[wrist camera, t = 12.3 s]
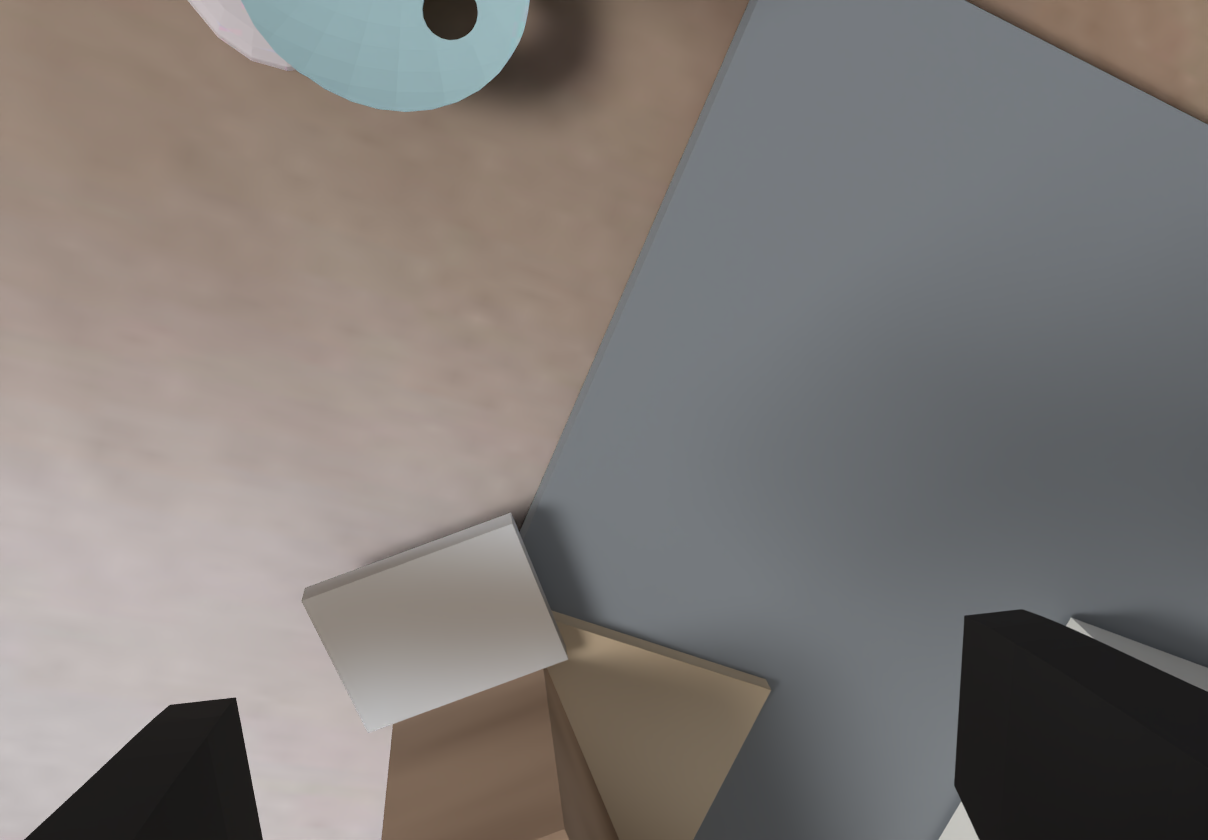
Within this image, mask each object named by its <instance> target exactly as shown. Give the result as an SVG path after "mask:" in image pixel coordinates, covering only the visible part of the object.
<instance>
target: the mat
mask: <svg viewBox="0 0 1208 840" xmlns="http://www.w3.org/2000/svg"><path fill="white" fill-rule="evenodd" d="M519 533H520V535H521V538H522V540H523V543H524V545H525V548H526V550H527V552H528V555H529V557H530V560H531V562H532V565H533V567H534V570H535V572H536V574H537V577H538V579H539V582H540V584H541V587H542V589H543V591H544V594H545V596H546V599H547V601H548V604H549V606H550V608H551V610H552V611H555V612H558V613H561V614H565V615H568V616H571V617H574V618H577V619H580V620H583V621H586V622H589V623H593V624H596V625H599V626H602V627H605V628H608V629H611V630H614V631H617V632H620V633H624V634H627V635H630V636H633V637H636V638H639V639H642V640H645V641H648V642H652V643H655V644H658V645H661V646H664V647H667V648H670V649H673V650H676V651H680V652H683V653H686V654H689V655H692V656H695V657H698V658H701V659H704V660H707V661H711V662H714V663H717V664H720V665H723V666H726V667H729V668H732V669H735V670H739V671H742V672H745V673H748V674H751V675H754V676H757V677H760V678H763V679H766V681H767V683H768V685H769V687H770V689H771V691H770V693H769V695H768V697H767V699H766V701H765V703H764V705H763V707H762V709H761V711H760V712H759V714H758V716H757V718H756V720H755V722H754V724H753V726H752V728H751V730H750V732H749V734H748V735H747V737H746V739H745V741H744V743H743V745H742V747H741V749H740V751H739V753H738V755H737V757H736V758H735V760H734V762H733V764H732V766H731V768H730V770H729V772H728V774H727V776H726V778H725V780H724V782H723V783H722V785H721V787H720V789H719V791H718V793H717V795H716V797H715V799H714V801H713V803H712V805H711V806H710V808H709V810H708V812H707V814H706V816H705V818H704V820H703V822H702V824H701V826H700V828H699V830H698V831H697V833H696V835H695V837H694V839H693V840H938V839H939V838H940V836H941V834H942V833H943V831H944V829H945V828H946V826H947V824H948V823H949V821H950V819H951V818H952V816H953V814H954V813H955V811H956V809H957V808H958V806H959V804H960V803H961V799H960V797H959V795H958V793H957V791H956V788H955V786H954V778H955V762H956V745H957V729H958V712H959V696H960V680H961V663H962V647H963V630H964V616H965V615H974V614H983V613H992V612H1001V611H1009V610H1018V609H1023V610H1026V611H1029V612H1032V613H1035V614H1037V615H1040V616H1043V617H1045V618H1048V619H1050V620H1053V621H1055V622H1058V623H1060V624H1062V625H1065V626H1066V625H1067V623H1068V622H1069V620H1070V618H1074V619H1077V620H1079V621H1082V622H1085V623H1088V624H1090V625H1093V626H1096V627H1098V628H1101V629H1104V630H1107V631H1109V632H1112V633H1115V634H1117V635H1120V636H1123V637H1125V638H1128V639H1131V640H1134V641H1136V642H1139V643H1142V644H1144V645H1147V646H1150V647H1153V648H1155V649H1158V650H1161V651H1163V652H1166V653H1169V654H1171V655H1174V656H1177V657H1180V658H1182V659H1185V660H1188V661H1190V662H1193V663H1196V664H1199V665H1201V666H1204V667H1207V668H1208V125H1207V124H1205V123H1204V122H1202V121H1200V120H1198V119H1196V118H1194V117H1192V116H1190V115H1188V114H1186V113H1184V112H1182V111H1180V110H1178V109H1176V108H1174V107H1172V106H1170V105H1168V104H1166V103H1164V102H1162V101H1160V100H1159V99H1157V98H1155V97H1153V96H1151V95H1149V94H1147V93H1145V92H1143V91H1141V90H1139V89H1137V88H1135V87H1133V86H1131V85H1129V84H1127V83H1125V82H1123V81H1121V80H1119V79H1117V78H1116V77H1114V76H1112V75H1110V74H1108V73H1106V72H1104V71H1102V70H1100V69H1098V68H1096V67H1094V66H1092V65H1090V64H1088V63H1086V62H1084V61H1082V60H1080V59H1078V58H1076V57H1074V56H1072V55H1071V54H1069V53H1067V52H1065V51H1063V50H1061V49H1059V48H1057V47H1055V46H1053V45H1051V44H1049V43H1047V42H1045V41H1043V40H1041V39H1039V38H1037V37H1035V36H1033V35H1031V34H1029V33H1027V32H1026V31H1024V30H1022V29H1020V28H1018V27H1016V26H1014V25H1012V24H1010V23H1008V22H1006V21H1004V20H1002V19H1000V18H998V17H996V16H994V15H992V14H990V13H988V12H986V11H984V10H983V9H981V8H979V7H977V6H975V5H973V4H971V3H969V2H967V1H965V0H750V1H749V3H748V5H747V8H746V10H745V12H744V15H743V17H742V19H741V21H740V24H739V26H738V28H737V31H736V33H735V35H734V38H733V40H732V42H731V45H730V47H729V49H728V51H727V54H726V56H725V58H724V61H723V63H722V65H721V68H720V70H719V72H718V75H717V77H716V79H715V82H714V84H713V86H712V88H711V91H710V93H709V95H708V98H707V100H706V102H705V105H704V107H703V109H702V112H701V114H700V116H699V118H698V121H697V123H696V125H695V128H694V130H693V132H692V135H691V137H690V139H689V142H688V144H687V146H686V149H685V151H684V153H683V155H682V158H681V160H680V162H679V165H678V167H677V169H676V172H675V174H674V176H673V179H672V181H671V183H670V185H669V188H668V190H667V192H666V195H665V197H664V199H663V202H662V204H661V206H660V209H659V211H658V213H657V215H656V218H655V220H654V222H653V225H652V227H651V229H650V232H649V234H648V236H647V239H646V241H645V243H644V246H643V248H642V250H641V252H640V255H639V257H638V259H637V262H636V264H635V266H634V269H633V271H632V273H631V276H630V278H629V280H628V282H627V285H626V287H625V289H624V292H623V294H622V296H621V299H620V301H619V303H618V306H617V308H616V310H615V312H614V315H613V317H612V319H611V322H610V324H609V326H608V329H607V331H606V333H605V336H604V338H603V340H602V343H601V345H600V347H599V349H598V352H597V354H596V356H595V359H594V361H593V363H592V366H591V368H590V370H589V373H588V375H587V377H586V379H585V382H584V384H583V386H582V389H581V391H580V393H579V396H578V398H577V400H576V403H575V405H574V407H573V410H572V412H571V414H570V416H569V419H568V421H567V423H566V426H565V428H564V430H563V433H562V435H561V437H560V440H559V442H558V444H557V446H556V449H555V451H554V453H553V456H552V458H551V460H550V463H549V465H548V467H547V470H546V472H545V474H544V476H543V479H542V481H541V483H540V486H539V488H538V490H537V493H536V495H535V497H534V500H533V502H532V504H531V507H530V509H529V511H528V513H527V516H526V518H525V520H524V523H523V525H522V527H521V530H520V532H519Z"/></svg>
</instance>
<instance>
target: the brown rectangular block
mask: <svg viewBox="0 0 1208 840" xmlns="http://www.w3.org/2000/svg"><path fill="white" fill-rule="evenodd" d="M302 603H303V605H304V607H305V609H306V611H307V613H308V615H309V617H310V619H311V621H312V623H313V625H314V627H315V629H316V631H317V633H318V635H319V637H320V639H321V641H322V643H323V645H324V647H325V649H326V651H327V653H328V655H329V657H330V659H331V661H332V663H333V665H334V667H335V669H336V671H337V673H338V674H339V676H340V678H341V680H342V682H343V684H344V686H345V688H346V690H347V692H348V694H349V696H350V698H351V700H352V702H353V704H354V706H355V708H356V710H357V712H358V714H359V716H360V718H361V720H362V722H363V724H364V726H365V728H366V730H367V732H368V733H370V732H373V731H375V730H378V729H381V728H384V727H386V726H389V725H392V724H393V730H392V740H391V750H390V760H389V770H388V780H387V790H386V800H385V810H384V820H383V830H382V840H619V838H618V836H617V833H616V831H615V828H614V826H613V824H612V821H611V819H610V817H609V814H608V812H607V809H606V807H605V805H604V802H603V800H602V798H601V795H600V793H599V790H598V788H597V786H596V783H595V781H594V779H593V776H592V774H591V771H590V769H589V767H588V764H587V762H586V760H585V757H584V755H583V752H582V750H581V748H580V745H579V743H578V741H577V738H576V736H575V733H574V731H573V729H572V726H571V724H570V722H569V719H568V717H567V714H566V712H565V710H564V707H563V705H562V703H561V700H560V698H559V695H558V693H557V691H556V688H555V686H554V684H553V681H552V679H551V676H550V674H549V672H548V669H547V667H549V666H552V665H555V664H557V663H560V662H563V661H566V660H568V655H567V650H566V645H565V643H564V640H563V638H562V635H561V633H560V630H559V628H558V626H557V623H556V621H555V618H554V616H553V613H552V611H551V608H550V606H549V604H548V601H547V599H546V596H545V594H544V591H543V589H542V587H541V584H540V582H539V579H538V577H537V574H536V572H535V570H534V567H533V565H532V562H531V560H530V557H529V555H528V552H527V550H526V548H525V545H524V543H523V540H522V538H521V535H520V533H519V531H518V528H517V526H516V523H515V521H514V518H513V516H512V513H508V514H505V515H503V516H500V517H497V518H495V519H492V520H489V521H486V522H484V523H481V524H478V525H475V526H473V527H470V528H467V529H465V530H462V531H459V532H456V533H454V534H451V535H448V536H446V537H443V538H440V539H437V540H435V541H432V542H429V543H426V544H424V545H421V546H418V547H416V548H413V549H410V550H407V551H405V552H402V553H399V554H397V555H394V556H391V557H388V558H386V559H383V560H380V561H377V562H375V563H372V564H369V565H367V566H364V567H361V568H358V569H356V570H353V571H350V572H347V573H345V574H342V575H339V576H337V577H334V578H331V579H328V580H326V581H323V582H320V583H318V584H315V585H312V586H309V587H307V588H305V591H304V594H303V598H302Z"/></svg>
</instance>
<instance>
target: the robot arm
mask: <svg viewBox="0 0 1208 840" xmlns="http://www.w3.org/2000/svg"><path fill="white" fill-rule="evenodd" d="M954 786H955V788H956V791H957V793H958V795H959V797H960V799H961V801H962V804H963V806H964V808H965V810H966V812H967V815H968V817H969V819H970V821H971V823H972V825H973V828H974V830H975V832H976V834H977V836H978V838H979V840H1208V692H1207V691H1205V690H1203V689H1201V688H1199V687H1197V686H1194V685H1192V684H1190V683H1188V682H1186V681H1183V680H1181V679H1179V678H1177V677H1175V676H1173V675H1171V674H1168V673H1166V672H1164V671H1162V670H1160V669H1158V668H1156V667H1153V666H1151V665H1149V664H1147V663H1145V662H1143V661H1141V660H1138V659H1136V658H1134V657H1132V656H1130V655H1128V654H1126V653H1124V652H1121V651H1119V650H1117V649H1115V648H1113V647H1111V646H1109V645H1106V644H1104V643H1102V642H1100V641H1098V640H1096V639H1094V638H1091V637H1089V636H1087V635H1085V634H1082V633H1080V632H1078V631H1076V630H1074V629H1071V628H1069V627H1067V626H1065V625H1062V624H1060V623H1058V622H1055V621H1053V620H1050V619H1048V618H1045V617H1043V616H1040V615H1037V614H1035V613H1032V612H1029V611H1026V610H1023V609H1018V610H1009V611H1001V612H992V613H983V614H974V615H965V616H964V630H963V647H962V663H961V680H960V696H959V712H958V729H957V745H956V762H955V778H954ZM24 840H263V838H262V833H261V828H260V823H259V817H258V812H257V807H256V801H255V796H254V791H253V786H252V780H251V775H250V770H249V764H248V759H247V754H246V749H245V743H244V738H243V733H242V727H241V722H240V717H239V712H238V706H237V701H236V698H227V699H218V700H209V701H201V702H192V703H183V704H174V705H169V706H168V707H167V708H166V709H165V710H163V711H162V712H161V713H160V714H159V715H157V716H156V717H155V718H154V719H153V720H152V721H151V722H150V723H148V724H147V725H146V726H145V727H144V728H143V729H142V730H141V731H140V732H139V733H138V734H137V735H136V736H134V737H133V738H132V739H131V740H130V741H129V742H128V743H127V744H126V745H125V746H124V747H123V748H122V749H121V750H120V751H119V752H118V753H117V754H115V755H114V756H113V757H112V758H111V759H110V760H109V761H108V762H107V763H106V764H105V765H104V766H103V767H102V768H101V769H100V770H99V771H98V772H97V773H95V774H94V775H93V776H92V777H91V778H90V779H89V780H88V781H87V782H86V783H85V784H84V785H83V786H82V787H81V788H79V789H78V790H77V791H76V792H75V793H74V794H73V795H72V796H71V797H70V798H69V799H68V800H67V801H65V802H64V803H63V804H62V805H61V806H60V807H59V808H58V809H57V810H56V811H55V812H54V813H53V814H51V815H50V816H49V817H48V818H47V819H46V820H45V821H44V822H43V823H42V824H41V825H40V826H38V827H37V828H36V829H35V830H34V831H33V832H32V833H31V834H30V835H29V836H28V837H27V838H25V839H24Z"/></svg>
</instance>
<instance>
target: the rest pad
mask: <svg viewBox="0 0 1208 840" xmlns="http://www.w3.org/2000/svg"><path fill="white" fill-rule="evenodd" d="M551 611H552V610H551ZM552 613H553V616H554V618H555V621H556V623H557V626H558V628H559V630H560V633H561V635H562V638H563V640H564V643H565V645H566V650H567V655H568V660H566V661H563V662H560V663H557V664H555V665H552V666H549V667H547V669H548V672H549V674H550V676H551V679H552V681H553V684H554V686H555V688H556V691H557V693H558V695H559V698H560V700H561V703H562V705H563V707H564V710H565V712H566V714H567V717H568V719H569V722H570V724H571V726H572V729H573V731H574V733H575V736H576V738H577V741H578V743H579V745H580V748H581V750H582V752H583V755H584V757H585V760H586V762H587V764H588V767H589V769H590V771H591V774H592V776H593V779H594V781H595V783H596V786H597V788H598V790H599V793H600V795H601V798H602V800H603V802H604V805H605V807H606V809H607V812H608V814H609V817H610V819H611V821H612V824H613V826H614V828H615V831H616V833H617V836H618V838H619V840H693V839H694V837H695V835H696V833H697V831H698V830H699V828H700V826H701V824H702V822H703V820H704V818H705V816H706V814H707V812H708V810H709V808H710V806H711V805H712V803H713V801H714V799H715V797H716V795H717V793H718V791H719V789H720V787H721V785H722V783H723V782H724V780H725V778H726V776H727V774H728V772H729V770H730V768H731V766H732V764H733V762H734V760H735V758H736V757H737V755H738V753H739V751H740V749H741V747H742V745H743V743H744V741H745V739H746V737H747V735H748V734H749V732H750V730H751V728H752V726H753V724H754V722H755V720H756V718H757V716H758V714H759V712H760V711H761V709H762V707H763V705H764V703H765V701H766V699H767V697H768V695H769V693H770V691H771V689H770V687H769V685H768V683H767V681H766V679H763V678H760V677H757V676H754V675H751V674H748V673H745V672H742V671H739V670H735V669H732V668H729V667H726V666H723V665H720V664H717V663H714V662H711V661H707V660H704V659H701V658H698V657H695V656H692V655H689V654H686V653H683V652H680V651H676V650H673V649H670V648H667V647H664V646H661V645H658V644H655V643H652V642H648V641H645V640H642V639H639V638H636V637H633V636H630V635H627V634H624V633H620V632H617V631H614V630H611V629H608V628H605V627H602V626H599V625H596V624H593V623H589V622H586V621H583V620H580V619H577V618H574V617H571V616H568V615H565V614H561V613H558V612H555V611H552Z"/></svg>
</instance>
